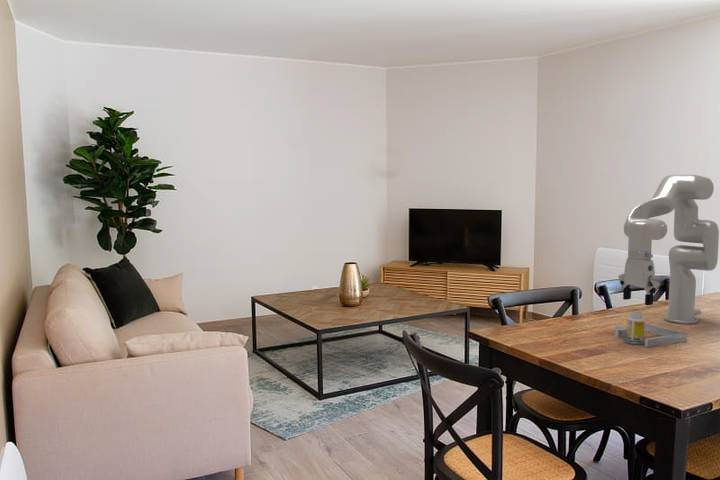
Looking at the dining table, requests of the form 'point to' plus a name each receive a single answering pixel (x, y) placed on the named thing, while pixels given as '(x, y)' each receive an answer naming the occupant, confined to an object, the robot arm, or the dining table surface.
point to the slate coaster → (633, 342)
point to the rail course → (666, 334)
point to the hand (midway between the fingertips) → (637, 301)
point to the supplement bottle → (635, 327)
